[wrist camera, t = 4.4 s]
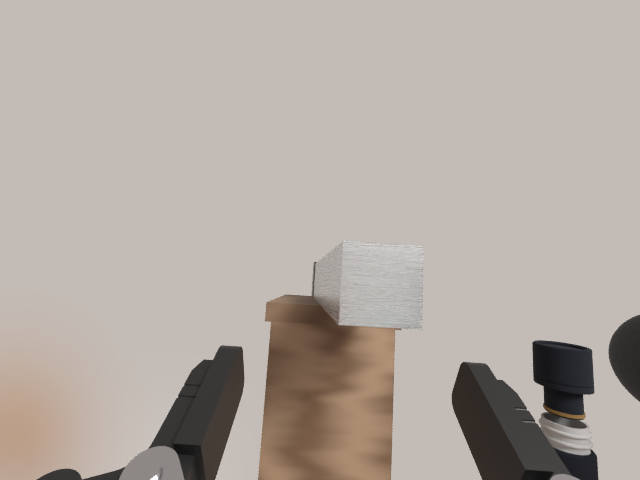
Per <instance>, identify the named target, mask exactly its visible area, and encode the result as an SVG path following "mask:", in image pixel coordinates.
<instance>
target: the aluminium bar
mask: <svg viewBox="0 0 640 480" xmlns="http://www.w3.org/2000/svg"><path fill="white" fill-rule="evenodd" d="M422 291H423V246H410V245H396V244H382V243H369V242H355V241H342V242H341V243H340V244H339V245H337V246H336V247H335V248H334V249H333V250H331V251H330V252H329V253H328V254H327V255H325V256H324V257H323V258H322V259H321V260H319V261H318V262H314V267H313V282H312V297H313V298H314V299H315V300H316V301H317V302H318V303H319V304H320V305H321V306H322V307H323V309H324V310H325V311H326V312H327V313H328V314H329V315H330V316H331V317H332V318H333V319H334V320H335V322H336V323H337V324H338V325H346V326H365V327H384V328H402V329H422Z"/></svg>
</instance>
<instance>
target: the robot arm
mask: <svg viewBox="0 0 640 480" xmlns="http://www.w3.org/2000/svg"><path fill="white" fill-rule="evenodd" d="M609 359H610V363H611V366H612V368H613V370H614V373H615V375H616V376H617V377H618V379H619V381H620V382H621V383H622V385H623V386H624V387H625V388H626V389H627V390H628V392H629V393H630V394H632V395H633V396H634V397H635V398H636V399H637V400H638V401H640V315H638V316H635V317H633V318H631V319H629V320H627V321H626V322H624V323H623V324H622V325H621V326H620V327H619V328H618V329H617V330H616V331H615V333H614V334H613V336H612V338H611V341H610V345H609ZM243 387H244V364H243V350H242V347H237V346H220V347H219V349H218V351H217V353H216V355H215V358H214V359H213V360H203V361H202V362H201V363H200V364H198V365H197V366H196V367H195V368H194V369H193V370H192V371H191V373H190V375H189V377H188V379H187V380H186V382H185V385H184V387H183V388H182V390H181V391H180V393H179V395H178V398H177V399H176V400H175V402H174V404H173V406H172V408H171V410H170V411H169V413H168V415H167V417H166V419H165V421H164V423H163V424H162V426H161V428H160V430H159V432H158V434H157V435H156V437H155V439H154V441H153V442H152V444H151V446H150V447H149V448H148V449H147V450H145V451H143V452H142V453H140V454H139V455H137V456H136V457H135V458H134V459H133V460H131V461H130V463H129V464H128V465H127V466H126V467H124V468H122V469H119V470H116V471H113V472H109V473H106V474H102V475H98V476H94V477H90V478H87V479H83V480H215V478H216V475H217V471H218V468H219V465H220V462H221V459H222V455H223V453H224V450H225V446H226V443H227V440H228V437H229V434H230V431H231V427H232V424H233V421H234V418H235V415H236V412H237V409H238V406H239V402H240V399H241V396H242V392H243ZM452 405H453V409H454V412H455V414H456V417H457V419H458V422H459V424H460V426H461V429H462V431H463V434H464V436H465V439H466V441H467V443H468V446H469V448H470V451H471V453H472V455H473V458H474V460H475V463H476V465H477V467H478V470H479V472H480V475H481V477H482V480H580V479H578V478H576V477H573V476H572V475H571V474H570V472H569V471H568V469H567V468H566V466H565V465H564V463H563V462H562V460H561V459H560V457H559V456H558V454H557V453H556V451H555V450H554V448H553V447H552V445H551V444H550V442H549V441H548V439H547V438H546V436H545V435H544V433H543V432H542V430H541V429H540V427H539V426H538V424H536V423H535V420H534V418H533V417H532V415H531V414H530V412H529V411H527V409H526V406H525V405H524V403H523V402H522V400H521V399H520V397H519V396H518V394H517V393H516V392H515V391H514V390H513V389H512V388H511V387H509V386H508V385H507V384H506V383H505V382H504V381H503V380H497V379H496V378H495V376H494V374H493V373H492V372H491V370H490V368H489V367H488V366H487V365H486V364H483V363H469V362H463V363H462V364H461V365H460V368H459V372H458V375H457V378H456V382H455V385H454V388H453V392H452ZM37 480H82V479H81V476H80V474H79V473H78V472H77V471H75V470H72V469H60V470H56V471H53V472H50V473H48V474H46V475H44V476H42V477H40V478H39V479H37Z"/></svg>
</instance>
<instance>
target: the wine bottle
mask: <svg viewBox="0 0 640 480" xmlns="http://www.w3.org/2000/svg"><path fill="white" fill-rule="evenodd" d="M592 362H593V361H592V350H591V349H589V348H587V347H583V346H579V345H574V344H567V343H561V342H553V341H534V342H533V374H534V375H533V376H534V381H535V382H536V383H538V384H540V385H542V386H544V404H543V407H544V408H545V410H546V411H548V412H544V413H542V414H541V418H540V419H539V423H540V425H541V427H540V429H541V430H542V432H543V433H544V435H545V436H546V438H547V439H548V441H549V442H550V444H551V445H552V447H553V448H554V450H555V451H556V453H557V454H558V456H559V457H560V459H561V460H562V462H563V463H564V465H565V466H566V468H567V469H568V471H569V472H570V474H571V475H572V476H573V477H576V478H578V479H580V480H598V467H597V456H596V454H595V453H594V452H593V451H592V450H591V448H592V447H593V444H592V442H591V441H590V438H592V433H591V432H590V431H589V426H588V425H587V424H586V423H584V422H582V421H580V420H583V419H584V418H585V413H584V404H583V394H593V393H594V379H593V363H592Z"/></svg>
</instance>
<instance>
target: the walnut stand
mask: <svg viewBox="0 0 640 480" xmlns="http://www.w3.org/2000/svg"><path fill="white" fill-rule="evenodd" d="M265 321H271V331H270V343H269V356H268V367H267V379H266V391H265V405H264V416H263V428H262V441H261V452H260V465H259V477H258V480H391V454H392V453H391V452H392V420H393V384H394V350H395V349H394V347H395V330H401V328H384V327H365V326H346V325H338V324H337V323H336V322H335V320H334V319H333V318H332V317H331V316H330V315H329V314H328V313H327V312H326V311H325V310H324V309H323V307H322V306H321V305H320V304H319V303H318V302H317V301H316V300H315V299H314V298H313V297H312V296H300V295H299V296H298V295H284V296H281V297H279V298H276V299H274V300H271V301H269V302H267V304H266V317H265Z"/></svg>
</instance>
